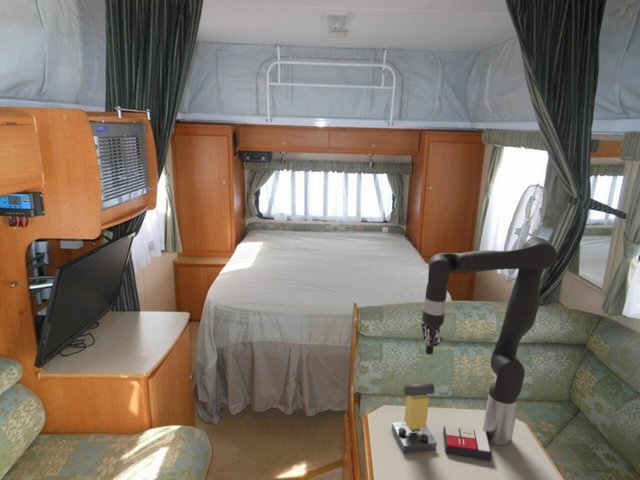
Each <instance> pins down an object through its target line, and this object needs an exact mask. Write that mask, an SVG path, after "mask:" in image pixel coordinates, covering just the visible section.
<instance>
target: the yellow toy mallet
mask: <svg viewBox="0 0 640 480" xmlns="http://www.w3.org/2000/svg"><path fill="white" fill-rule="evenodd" d="M402 389H403V394H404V396H405V397H406V400H405V401H406V402H405V409H404V410H405V411H404V421H405V422H406V424H407V426H408V428H409V429H410V430H411V431H412V432H418V431H420V429H421V428H426V426H427V421H428V420H427V419H428V414H429V413H428V412H429V403H430V397H429V396H428V395H432V394H433V395H434V393H435V385H434V383H433V382H426V383H413V384H403V387H402ZM404 421H403V422H404Z"/></svg>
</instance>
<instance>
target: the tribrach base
mask: <svg viewBox="0 0 640 480" xmlns="http://www.w3.org/2000/svg"><path fill="white" fill-rule="evenodd" d="M391 431H392V433H393V436H394V437H395V439H396V441H397V443H398V446H399V447H400V449H401V451H402V453H403V454H410V453H419V452H420V453H421V452H428V451H435V450H437V445H438V444H437V443H438V442H437V441H436V439H435V438H434V435H433V434H432V432H431V431H430V429H429V428H428V426H427V425H426V428H421V429H420V431H418V432H412V431H411V430H410V429H409V428H408V426H407V424H406V422H405V421H397V422H396V421H395V422H392V424H391Z"/></svg>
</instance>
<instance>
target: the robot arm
mask: <svg viewBox="0 0 640 480" xmlns="http://www.w3.org/2000/svg"><path fill="white" fill-rule="evenodd" d="M557 259H558V253H557V250H556V248H555V247H554V246H553V245H552V244H551V243H550V242H549V241H548V240H546V239H545V238H542V237H539V236H537V237H536V236H535V237H531V238H529V239H528V240H526V241H525V242H524V243H523V245H522V247H521V248H518V249H513V250H473V251H467V252H459V253H457V252H441V253H436V254H435V255H432V256H431V257H430V259H429V261H428V274H427V275H428V277H427V279H428V280H427V285H426V289H425V297H424V302H423V310H422V319H421V321H422V323H421V329H422V330H421V331H422V336H423V340H425V344H426V345H425V353H426V355H429V356H431V355H433V354H434V348H435V347H438V346H439V345H440V344H441V343H442V342H443V337H441V336H440V333H441V330H440V327H441V326H442V325H443V324H444V322H445V315H446V308H447V306H446V305H447V293H448V284H449V279H450V275H451V272H459V273H460V274H468V273H470V274H472V273H478V272H488V271H497V270H518V272H517V275H516V279H515V280H514V284H513V287H512V290H511V294H510V296H509V299H508V303H507V307H506V311H505V314H504V318H503V323H502V326H501V330H500V334H499V336H498V337H499V338H498V339H497V342H496V345H495V347H494V349H493V352H492V353H491V358H490V366H491V369H492V370H493V372H494V373H495V376H496V380H495V382H494V383H493V382H492V383H491V384H490V386H489V390H488V395H487V402H486V407H485V408H486V409H485V414H484V419H483V425H482V431H485V432H487V436H488V440H489V444H493V445H495V446H506V445H508V444H509V442H512V441H513V434H514V429H515V425H516V417H515V411H516V406H517V400H518V397H519V396H520V394H521V393H522V388H523V384H524V379H525V375H526V374H525V373H526V372H525V371H526V370H525V366H524V365H523V364H522V362H521V361H520V360H519V359H518V358H517V352H518V347H519V344H520V341H521V340H522V338H523V337H524V336H525V335H526V334H528V332H530V330H531V329H532V328H533V327H534V324H535V321H536V318H537V315H538V311H539V305H540V291H541V290H540V288H541V287H540V284H541V278H542V275H543V272H544V270H547V269H549V268H551V267H552V266H554V265H555V263H556V262H557Z"/></svg>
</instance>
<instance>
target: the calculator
mask: <svg viewBox="0 0 640 480" xmlns="http://www.w3.org/2000/svg"><path fill="white" fill-rule="evenodd" d="M442 433H443V442H444V444H443V445H444V452H445V453H444V454H447V455H452V456H453V455H454V456H459V457H464V458H471V459H477V460H480V461H481V460H482V461H484V462H485V461H487V462H491V460H492V448H491V443H490V442H489V440H488V436H487V432H485V431H483V430H476V429H472V428H466V427H465V428H464V427H457V426H450V425H449V426H448V425H447V426H446V425H445V426H443V432H442Z"/></svg>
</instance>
